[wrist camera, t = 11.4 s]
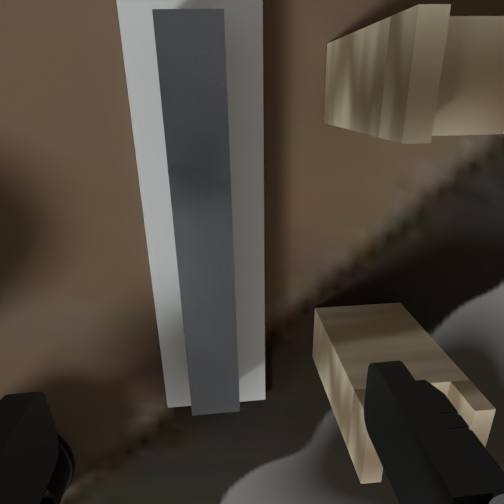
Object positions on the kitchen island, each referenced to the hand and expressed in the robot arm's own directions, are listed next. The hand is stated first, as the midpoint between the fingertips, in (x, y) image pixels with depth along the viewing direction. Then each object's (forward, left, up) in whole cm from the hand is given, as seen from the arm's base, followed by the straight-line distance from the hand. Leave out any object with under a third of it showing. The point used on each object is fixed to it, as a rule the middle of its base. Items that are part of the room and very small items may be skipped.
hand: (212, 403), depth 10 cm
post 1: (-8, +10, -15) cm, 19 cm away
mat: (0, 0, -15) cm, 15 cm away
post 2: (+8, +10, -15) cm, 20 cm away
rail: (0, 0, -15) cm, 15 cm away
